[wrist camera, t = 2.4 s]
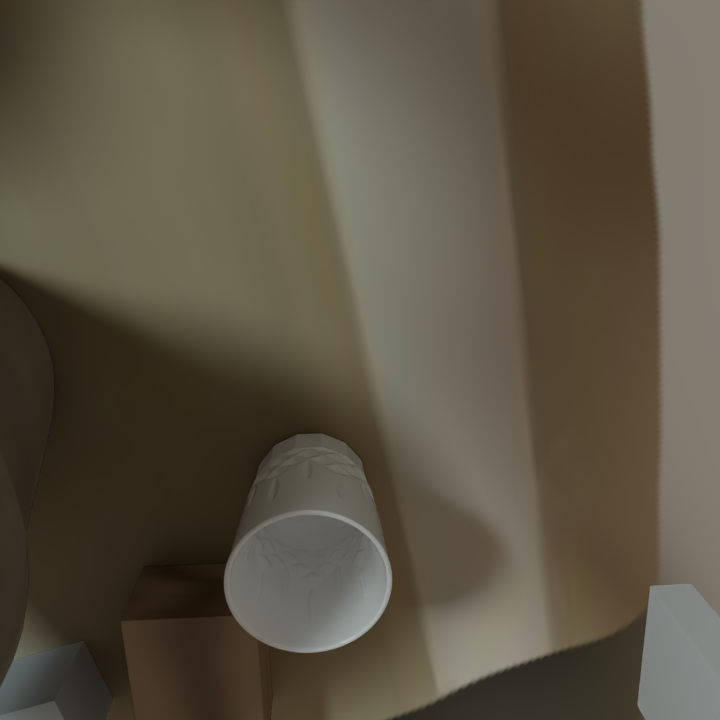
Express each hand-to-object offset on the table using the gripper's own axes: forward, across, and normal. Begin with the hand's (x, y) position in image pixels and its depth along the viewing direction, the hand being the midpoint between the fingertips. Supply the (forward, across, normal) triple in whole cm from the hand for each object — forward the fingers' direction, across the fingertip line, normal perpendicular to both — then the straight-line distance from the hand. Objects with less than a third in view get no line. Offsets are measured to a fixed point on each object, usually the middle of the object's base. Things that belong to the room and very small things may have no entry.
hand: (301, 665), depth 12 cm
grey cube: (+26, -18, -23) cm, 40 cm away
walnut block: (+26, -8, -21) cm, 35 cm away
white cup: (+27, -1, -10) cm, 28 cm away
